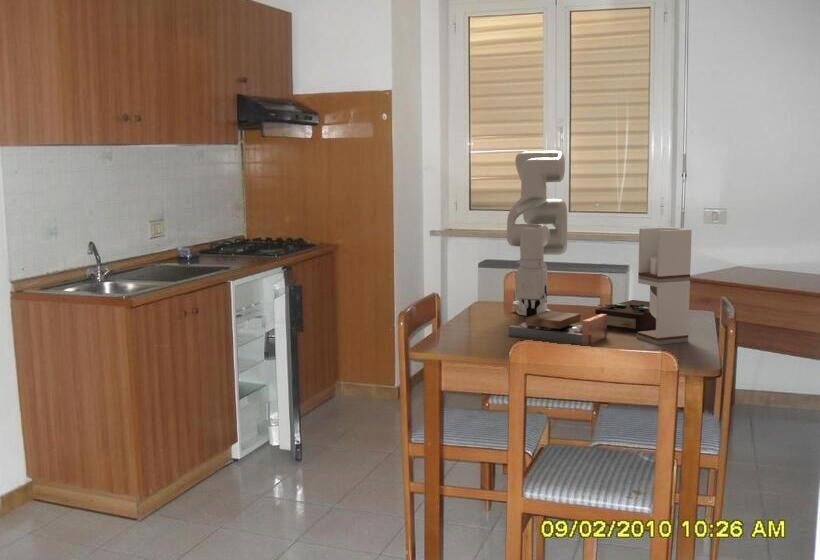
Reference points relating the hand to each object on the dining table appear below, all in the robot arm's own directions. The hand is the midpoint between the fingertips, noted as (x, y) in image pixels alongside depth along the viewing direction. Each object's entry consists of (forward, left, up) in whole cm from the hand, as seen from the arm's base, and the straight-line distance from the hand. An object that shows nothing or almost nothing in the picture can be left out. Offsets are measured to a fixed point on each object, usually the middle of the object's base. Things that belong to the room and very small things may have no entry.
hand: (531, 319), depth 281 cm
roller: (+15, 0, -5) cm, 16 cm away
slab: (+8, 0, 0) cm, 8 cm away
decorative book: (+23, +32, -5) cm, 40 cm away
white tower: (+39, +13, -5) cm, 42 cm away
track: (+9, 0, -5) cm, 11 cm away
